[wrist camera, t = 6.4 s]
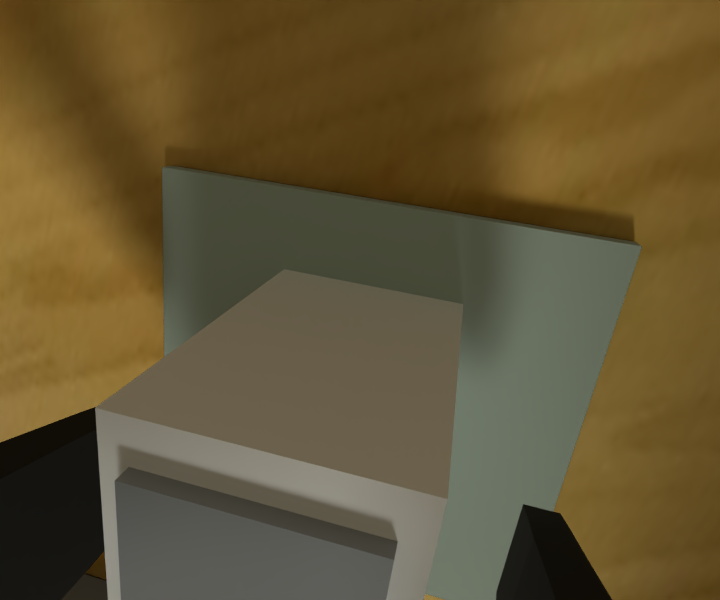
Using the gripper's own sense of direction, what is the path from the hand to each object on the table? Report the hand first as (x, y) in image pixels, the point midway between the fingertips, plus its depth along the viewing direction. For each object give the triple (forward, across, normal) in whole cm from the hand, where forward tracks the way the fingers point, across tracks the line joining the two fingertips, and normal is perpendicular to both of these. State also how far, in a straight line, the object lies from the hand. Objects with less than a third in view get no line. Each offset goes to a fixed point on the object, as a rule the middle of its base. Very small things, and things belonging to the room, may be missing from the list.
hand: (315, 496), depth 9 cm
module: (+3, 0, 0) cm, 3 cm away
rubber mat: (+3, 0, 0) cm, 3 cm away
